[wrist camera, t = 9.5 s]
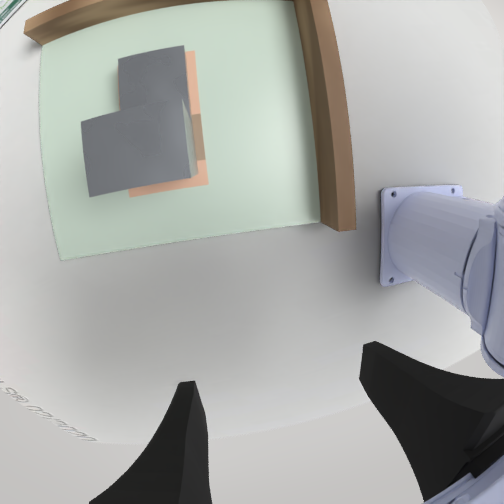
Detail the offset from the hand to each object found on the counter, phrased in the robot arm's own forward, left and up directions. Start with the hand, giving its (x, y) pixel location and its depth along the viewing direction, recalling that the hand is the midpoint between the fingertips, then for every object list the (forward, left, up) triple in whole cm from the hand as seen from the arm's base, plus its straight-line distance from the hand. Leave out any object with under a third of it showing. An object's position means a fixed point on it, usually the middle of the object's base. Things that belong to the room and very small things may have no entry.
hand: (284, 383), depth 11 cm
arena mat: (+3, -13, -10) cm, 17 cm away
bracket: (+4, -12, -10) cm, 16 cm away
